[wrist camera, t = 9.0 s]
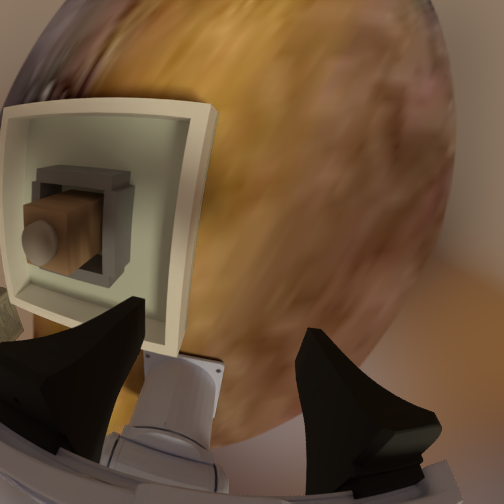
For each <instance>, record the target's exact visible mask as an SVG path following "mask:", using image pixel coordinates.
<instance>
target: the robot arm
mask: <svg viewBox="0 0 504 504" xmlns="http://www.w3.org/2000/svg"><path fill="white" fill-rule="evenodd" d="M144 338H145V299H144V298H140V297H136V296H131V297H130V298H128V299H126V300H124V301H123V302H121V303H119V304H118V305H116V306H114V307H113V308H111V309H109V310H107V311H106V312H104V313H102V314H100V315H98V316H96V317H95V318H93V319H91V320H89V321H87V322H85V323H83V324H80V325H78V326H76V327H73V328H71V329H68V330H65V331H62V332H59V333H55V334H52V335H48V336H45V337H40V338H35V339H29V340H22V341H7V342H1V343H0V476H1V477H2V478H4V479H5V480H6V481H8V482H9V483H10V484H12V485H13V486H15V487H16V488H17V489H19V490H20V491H22V492H23V493H25V494H26V495H28V496H29V497H31V498H33V499H34V500H36V501H37V502H39V503H41V504H460V503H462V502H463V500H464V499H463V497H462V494H461V492H460V490H459V487H458V485H457V482H456V480H455V478H454V475H453V473H452V471H451V469H450V466H449V464H448V462H447V460H443V461H441V462H437V463H435V464H432V465H429V466H427V467H425V468H423V469H421V466H420V464H421V463H422V462H423V458H422V456H421V454H422V453H423V452H424V451H425V450H426V449H428V448H429V447H430V446H431V445H432V444H433V443H434V442H435V441H436V439H437V438H438V437H439V435H440V434H441V431H442V426H441V424H440V422H439V420H438V419H437V417H436V415H435V413H434V412H432V411H429V410H426V409H424V408H421V407H418V406H416V405H413V404H411V403H409V402H407V401H405V400H403V399H401V398H400V397H397V396H395V395H394V394H392V393H391V392H389V391H388V390H386V389H385V388H383V387H382V386H380V385H379V384H377V383H376V382H375V381H373V380H372V379H371V378H370V377H368V376H367V375H366V374H365V373H363V372H362V371H361V370H360V369H359V368H358V367H357V366H356V365H355V364H354V363H353V362H352V361H351V360H350V359H349V358H348V357H347V356H346V355H345V354H344V353H343V352H342V351H341V350H340V349H339V348H338V347H337V346H336V345H335V344H334V343H333V341H332V340H331V339H330V338H329V337H328V336H327V335H326V334H325V333H324V332H323V331H322V330H321V329H316V328H307V331H306V334H305V337H304V339H303V342H302V344H301V347H300V350H299V352H298V355H297V357H296V360H295V372H296V382H297V388H298V393H299V398H300V402H301V407H302V412H303V417H304V423H305V433H306V455H307V470H306V493H305V494H306V495H305V496H256V495H238V494H228V491H229V484H228V476H227V474H226V472H225V471H224V469H223V467H222V466H221V465H220V464H216V463H214V452H211V451H209V445H210V436H211V427H212V419H213V418H214V417H215V412H216V407H217V402H218V397H219V392H220V387H221V382H222V377H223V372H224V366H225V365H224V363H223V362H220V361H214V360H209V359H203V358H198V357H193V356H188V355H183V354H178V356H177V358H176V357H172V356H167V355H163V354H159V353H154V352H150V351H146V350H143V359H144V375H145V382H144V384H143V387H142V389H141V392H140V394H139V397H138V400H137V402H136V405H135V408H134V410H133V413H132V416H131V419H130V421H129V424H128V425H125V426H124V429H123V432H122V434H121V437H120V434H119V433H117V432H112V433H111V434H108V435H106V432H107V428H108V425H109V421H110V418H111V415H112V411H113V408H114V405H115V403H116V400H117V397H118V394H119V392H120V390H121V388H122V386H123V384H124V382H125V380H126V378H127V376H128V374H129V372H130V370H131V368H132V366H133V364H134V362H135V360H136V358H137V356H138V354H139V352H140V349H141V347H142V344H143V341H144ZM147 354H148V355H147ZM149 355H150V356H149ZM217 369H220V370H217Z"/></svg>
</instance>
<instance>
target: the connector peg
mask: <svg viewBox="0 0 504 504" xmlns="http://www.w3.org/2000/svg"><path fill="white" fill-rule="evenodd" d="M103 206H104V194H102V193H95V192H88V191H81V190H74V189H70V190H67V191H63V192H60V193H57V194H54V195H51V196H48V197H45V198H42V199H39V200H36V201H33V202H30V203H28V204H25V205H23V220H24V230H23V232H22V247H23V250H24V253H25V255H26V259H27V263H29V264H32V265H35V266H38V267H41V268H44V269H47V270H51V271H54V272H57V273H60V274H64V275H67V276H70V275H71V274H72V273H73V272H75V271H76V270H77V269H78V268H80V267H81V266H82V265H83V264H84V263H86V262H87V261H88V260H89V259H91V258H92V257H93V256H95V255H96V254H97V253H98V252H100V251H101V250H102V230H103Z"/></svg>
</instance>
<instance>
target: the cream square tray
mask: <svg viewBox="0 0 504 504" xmlns="http://www.w3.org/2000/svg"><path fill="white" fill-rule="evenodd" d="M218 115H219V113H218V112H217V110H216V109H215V108H214V107H213V106H212V104H207V103H199V102H189V101H179V100H167V99H151V98H80V99H64V100H53V101H44V102H35V103H28V104H21V105H15V106H10V107H4V110H3V116H2V123H1V130H0V250H1V256H2V264H3V270H4V276H5V280H6V286H7V291H8V296H9V300H10V303H11V304H13V305H16V306H18V307H20V308H22V309H25V310H27V311H29V312H32V313H34V314H36V315H39V316H41V317H44V318H46V319H49V320H51V321H54V322H57V323H59V324H62V325H65V326H68V327H70V328H73V327H76V326H78V325H80V324H83V323H85V322H87V321H89V320H91V319H93V318H95V317H96V316H98V315H100V314H102V313H104V312H106V311H107V310H109V309H111V308H113V307H114V306H116V305H118V304H119V303H121V302H123V301H124V300H126V299H128V298H130V297H131V296H136V297H140V298H144V299H145V338H144V341H143V344H142V347H141V349H142V350H146V351H150V352H154V353H159V354H163V355H167V356H172V357H176V358H177V356H178V353H179V350H180V347H181V344H182V340H183V337H184V334H185V331H186V326H187V316H188V306H189V297H190V288H191V279H192V271H193V263H194V255H195V248H196V240H197V233H198V226H199V220H200V213H201V207H202V201H203V194H204V188H205V183H206V177H207V171H208V166H209V160H210V155H211V150H212V144H213V139H214V134H215V129H216V124H217V120H218ZM70 189H74V190H81V191H88V192H95V193H102V194H104V206H103V230H102V250H101V251H100V252H98V253H97V254H96V255H95V256H93V257H92V258H91V259H89V260H88V261H87V262H86V263H84V264H83V265H82V266H81V267H80V268H78V269H77V270H76V271H75V272H73V273H72V274H71V275H70V276H67V275H64V274H60V273H57V272H54V271H51V270H47V269H44V268H41V267H38V266H35V265H32V264H29V263H27V259H26V255H25V253H24V250H23V247H22V232H23V230H24V220H23V205H25V204H28V203H30V202H33V201H36V200H39V199H42V198H45V197H48V196H51V195H54V194H57V193H60V192H63V191H67V190H70Z"/></svg>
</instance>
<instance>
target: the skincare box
mask: <svg viewBox="0 0 504 504" xmlns="http://www.w3.org/2000/svg"><path fill="white" fill-rule="evenodd" d="M23 331H24V329H23V327H22V324H21V321H20V319H19V316H18V313H17V311H16V308H15V305H13V304H11V303H10V300H9V296H8V291H7V289H6V288H3V287H0V343H1V342H7V341H15V340H16V339H17V338H18V337H19V335H20V334H21V333H22V332H23Z"/></svg>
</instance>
